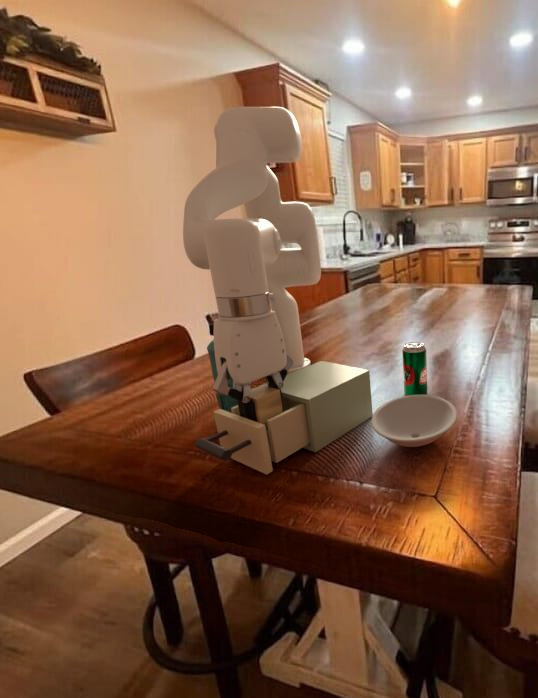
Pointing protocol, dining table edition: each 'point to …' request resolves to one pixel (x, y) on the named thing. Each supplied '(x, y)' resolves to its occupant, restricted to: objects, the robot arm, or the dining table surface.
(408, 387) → the soda can
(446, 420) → the dish
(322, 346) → the dining table surface
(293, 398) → the cabinet
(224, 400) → the beverage bottle
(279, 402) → the block
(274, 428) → the drawer
